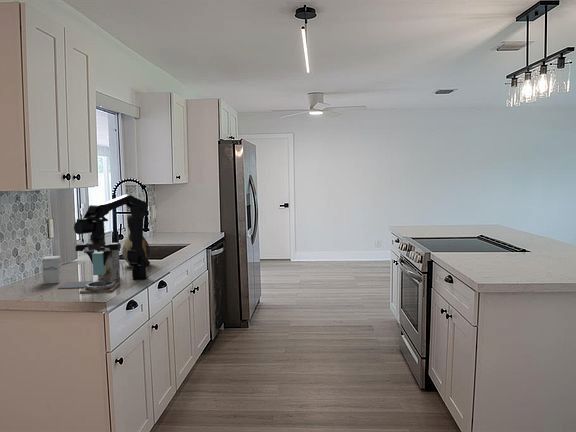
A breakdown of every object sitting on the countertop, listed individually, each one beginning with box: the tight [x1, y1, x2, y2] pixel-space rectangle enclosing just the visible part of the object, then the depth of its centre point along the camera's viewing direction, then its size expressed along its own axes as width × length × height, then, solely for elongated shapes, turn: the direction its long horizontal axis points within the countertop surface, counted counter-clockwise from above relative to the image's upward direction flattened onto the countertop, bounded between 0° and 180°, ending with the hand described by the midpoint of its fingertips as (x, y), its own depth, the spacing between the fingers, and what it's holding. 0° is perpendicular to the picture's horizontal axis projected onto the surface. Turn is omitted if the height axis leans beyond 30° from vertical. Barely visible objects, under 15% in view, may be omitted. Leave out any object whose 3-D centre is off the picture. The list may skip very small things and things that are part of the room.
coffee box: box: [96, 249, 121, 281], centre depth 234 cm, size 9×6×16 cm
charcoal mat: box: [57, 280, 94, 290], centre depth 220 cm, size 12×12×1 cm
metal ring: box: [86, 280, 116, 290], centre depth 213 cm, size 12×12×2 cm
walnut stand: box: [79, 282, 121, 294], centre depth 213 cm, size 14×14×1 cm
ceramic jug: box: [121, 214, 151, 268], centre depth 265 cm, size 17×15×30 cm
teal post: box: [92, 251, 106, 276], centre depth 212 cm, size 4×4×10 cm
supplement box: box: [41, 255, 63, 285], centre depth 227 cm, size 7×7×13 cm
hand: (99, 265), depth 212 cm, fingers closed on teal post, 4 cm apart
